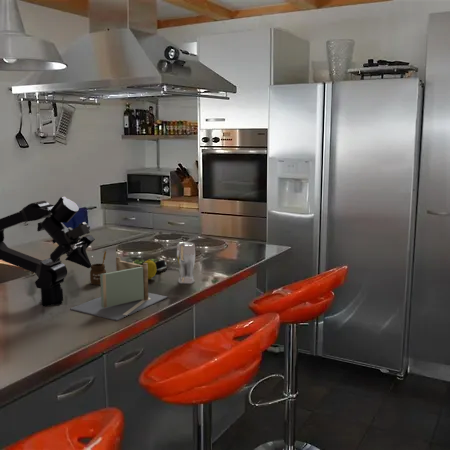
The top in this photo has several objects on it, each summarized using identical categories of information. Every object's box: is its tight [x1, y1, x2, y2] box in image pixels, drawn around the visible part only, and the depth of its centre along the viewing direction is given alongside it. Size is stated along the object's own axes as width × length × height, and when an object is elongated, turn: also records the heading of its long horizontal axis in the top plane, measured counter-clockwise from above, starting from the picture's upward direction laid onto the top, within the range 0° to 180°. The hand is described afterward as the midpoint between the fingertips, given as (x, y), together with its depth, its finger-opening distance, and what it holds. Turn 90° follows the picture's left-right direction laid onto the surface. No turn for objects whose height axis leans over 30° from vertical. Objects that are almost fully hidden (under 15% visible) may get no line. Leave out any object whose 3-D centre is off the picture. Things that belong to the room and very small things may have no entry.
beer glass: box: [176, 241, 196, 285], centre depth 201 cm, size 7×7×15 cm
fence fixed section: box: [115, 257, 149, 300], centre depth 184 cm, size 15×2×13 cm, turn 54°
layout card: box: [70, 292, 168, 322], centre depth 178 cm, size 26×20×1 cm
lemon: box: [144, 258, 157, 280], centre depth 205 cm, size 6×6×8 cm
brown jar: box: [88, 250, 107, 286], centre depth 200 cm, size 6×6×12 cm
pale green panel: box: [100, 267, 144, 308], centre depth 174 cm, size 15×2×11 cm, turn 129°
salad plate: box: [130, 258, 168, 274], centre depth 221 cm, size 19×18×5 cm
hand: (90, 267), depth 172 cm, fingers closed
